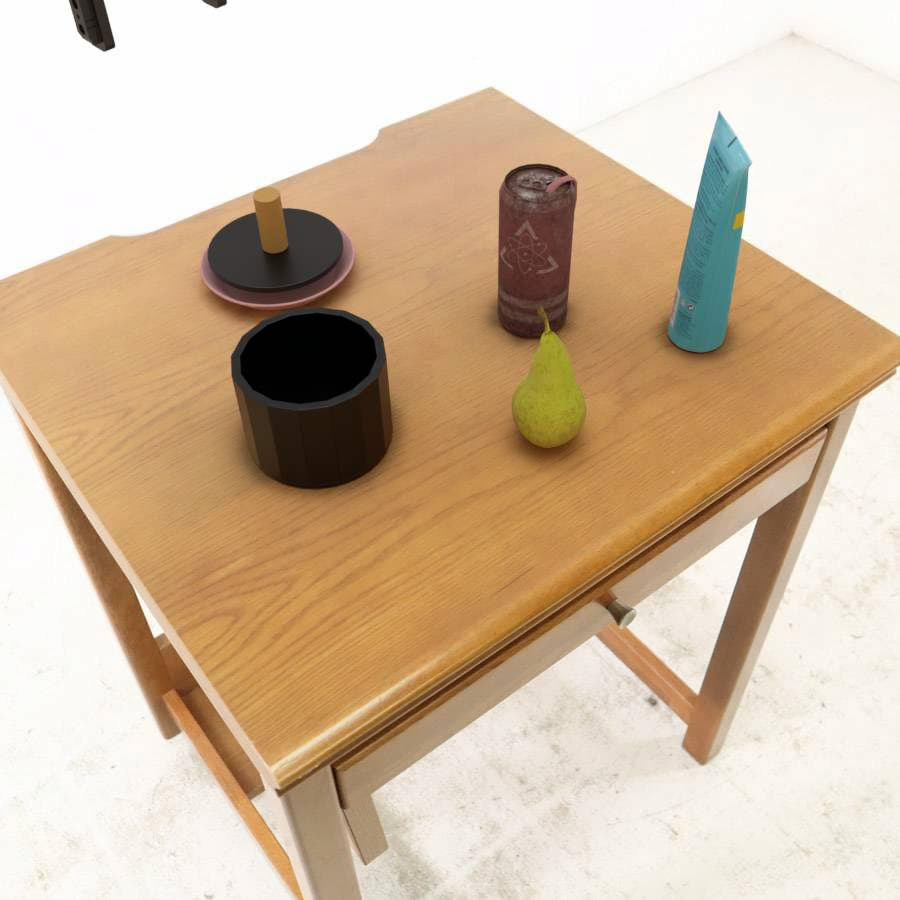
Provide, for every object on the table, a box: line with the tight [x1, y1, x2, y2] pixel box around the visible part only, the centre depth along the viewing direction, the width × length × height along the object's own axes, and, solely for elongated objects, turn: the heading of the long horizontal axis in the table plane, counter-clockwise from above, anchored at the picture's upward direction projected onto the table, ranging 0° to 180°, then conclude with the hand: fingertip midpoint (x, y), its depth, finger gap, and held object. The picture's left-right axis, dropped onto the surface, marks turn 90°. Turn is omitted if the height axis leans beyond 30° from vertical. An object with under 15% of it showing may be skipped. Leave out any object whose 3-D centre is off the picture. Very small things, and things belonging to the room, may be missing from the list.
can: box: [497, 163, 578, 339], centre depth 89 cm, size 6×6×14 cm
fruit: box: [511, 306, 587, 449], centre depth 80 cm, size 6×6×12 cm
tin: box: [230, 306, 394, 490], centre depth 82 cm, size 11×11×8 cm
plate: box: [199, 224, 356, 311], centre depth 99 cm, size 14×14×2 cm
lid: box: [207, 186, 343, 293], centre depth 96 cm, size 12×12×7 cm
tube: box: [667, 110, 753, 353], centre depth 85 cm, size 7×5×19 cm, turn 13°
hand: (160, 24), depth 69 cm, fingers open, 8 cm apart
